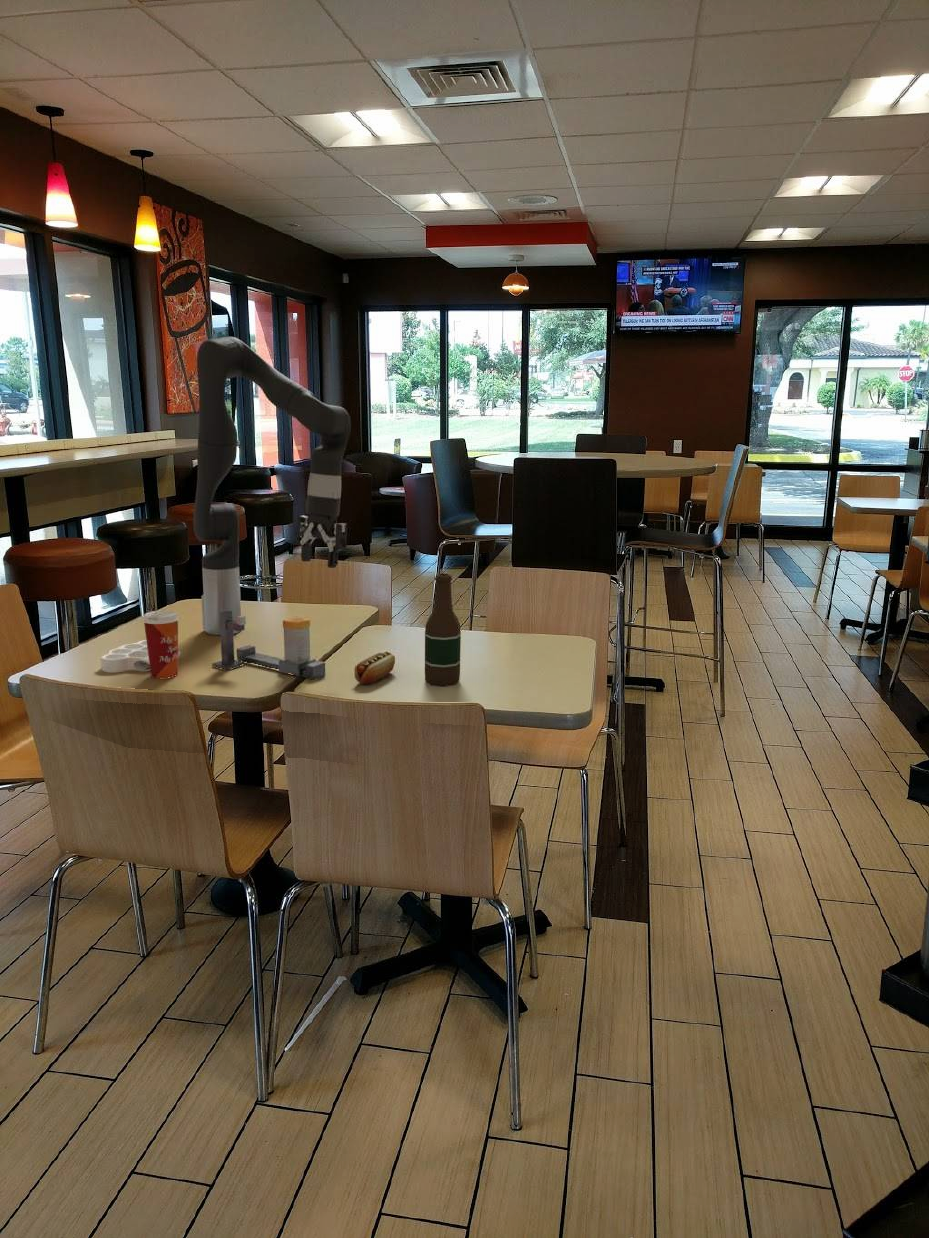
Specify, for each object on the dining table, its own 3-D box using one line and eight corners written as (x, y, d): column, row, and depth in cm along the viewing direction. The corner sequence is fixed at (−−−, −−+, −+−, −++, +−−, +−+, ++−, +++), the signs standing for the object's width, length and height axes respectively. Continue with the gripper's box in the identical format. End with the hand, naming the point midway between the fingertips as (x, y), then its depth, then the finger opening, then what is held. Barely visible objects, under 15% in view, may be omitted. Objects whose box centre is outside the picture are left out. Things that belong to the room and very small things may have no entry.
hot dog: (400, 672, 208) (400, 651, 207) (371, 689, 197) (371, 666, 195) (380, 669, 210) (380, 648, 209) (351, 685, 199) (350, 663, 197)
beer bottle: (423, 676, 206) (424, 571, 200) (458, 676, 206) (460, 571, 201) (425, 687, 198) (426, 578, 192) (461, 686, 199) (463, 578, 193)
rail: (237, 661, 215) (236, 648, 214) (249, 657, 218) (249, 645, 217) (313, 679, 202) (312, 666, 201) (325, 675, 205) (325, 662, 204)
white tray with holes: (142, 677, 203) (86, 671, 207) (188, 656, 219) (135, 651, 223) (141, 663, 202) (85, 657, 206) (187, 643, 219) (134, 637, 223)
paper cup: (171, 681, 199) (167, 618, 196) (139, 678, 200) (135, 616, 197) (189, 671, 206) (185, 610, 203) (158, 668, 208) (154, 608, 205)
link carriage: (279, 671, 206) (277, 620, 203) (296, 665, 211) (295, 615, 208) (298, 676, 203) (297, 624, 200) (316, 670, 208) (315, 619, 205)
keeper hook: (212, 666, 210) (209, 611, 207) (229, 661, 214) (226, 607, 211) (236, 673, 206) (234, 616, 203) (253, 667, 210) (251, 612, 207)
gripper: (290, 490, 210) (285, 560, 214) (334, 498, 202) (329, 570, 206) (314, 490, 216) (308, 558, 220) (358, 498, 208) (352, 568, 212)
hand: (318, 564), depth 213 cm, fingers open, 8 cm apart
